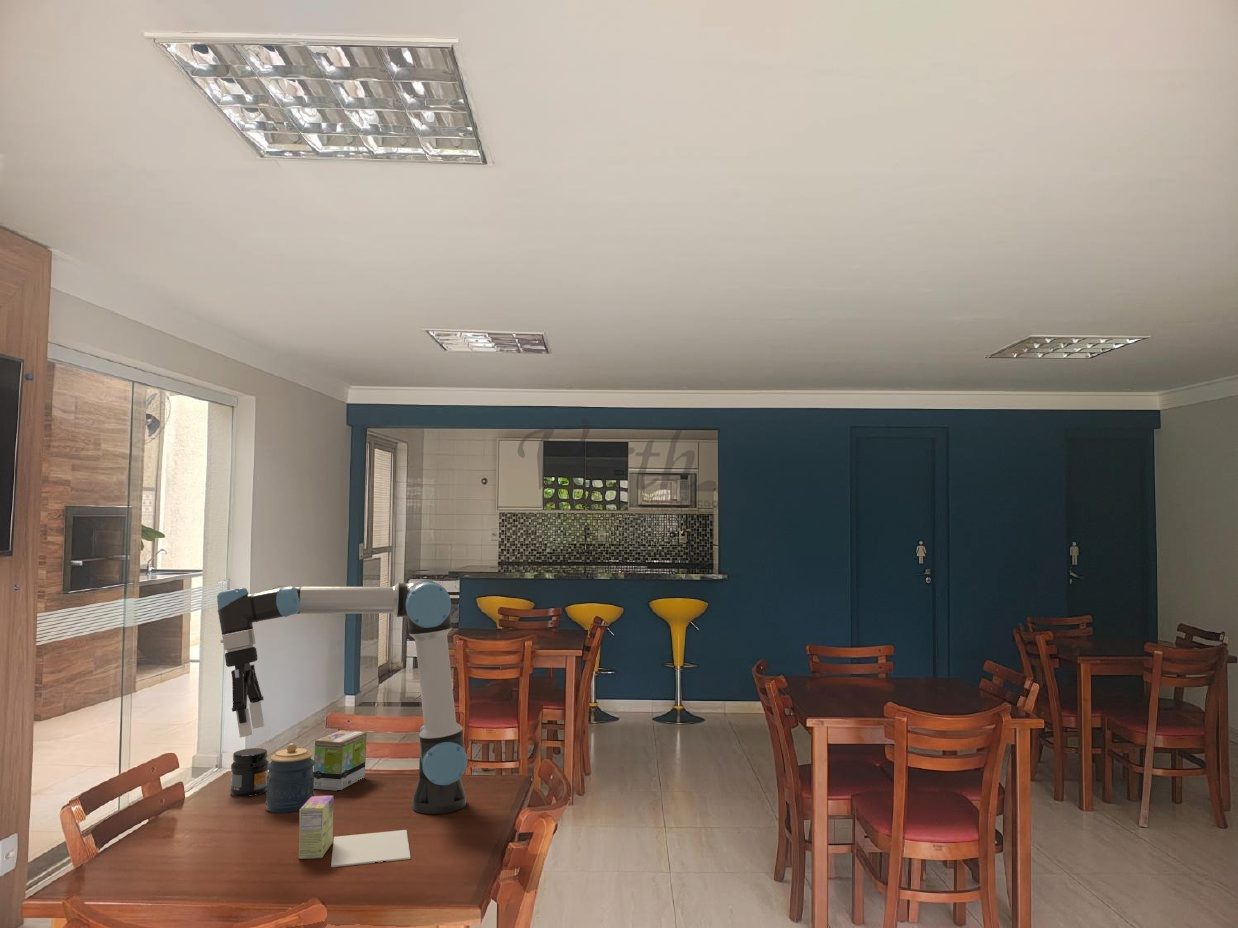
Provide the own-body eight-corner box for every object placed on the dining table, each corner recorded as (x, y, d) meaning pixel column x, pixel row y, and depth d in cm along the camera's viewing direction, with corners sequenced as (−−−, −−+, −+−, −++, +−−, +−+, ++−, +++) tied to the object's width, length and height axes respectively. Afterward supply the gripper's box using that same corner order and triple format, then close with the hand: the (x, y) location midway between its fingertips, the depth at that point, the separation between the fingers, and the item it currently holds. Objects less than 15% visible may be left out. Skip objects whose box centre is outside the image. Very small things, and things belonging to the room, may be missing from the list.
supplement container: (275, 789, 259) (276, 749, 260) (247, 799, 249) (249, 757, 250) (250, 785, 263) (251, 746, 264) (221, 795, 254) (223, 753, 255)
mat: (406, 831, 222) (406, 829, 222) (410, 858, 203) (410, 857, 203) (334, 838, 217) (334, 836, 217) (331, 867, 198) (331, 865, 198)
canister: (323, 804, 245) (325, 741, 246) (284, 816, 234) (286, 751, 235) (294, 796, 252) (296, 736, 253) (255, 808, 241) (257, 744, 242)
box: (309, 843, 213) (311, 795, 214) (332, 843, 214) (334, 794, 215) (297, 859, 203) (299, 808, 204) (322, 858, 203) (323, 807, 204)
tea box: (341, 791, 257) (343, 741, 259) (311, 789, 259) (313, 739, 261) (366, 777, 272) (367, 730, 273) (337, 775, 274) (338, 729, 275)
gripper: (237, 648, 231) (248, 727, 229) (211, 655, 207) (223, 743, 204) (265, 642, 232) (277, 720, 230) (243, 648, 208) (256, 736, 206)
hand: (252, 731), depth 217 cm, fingers open, 13 cm apart
